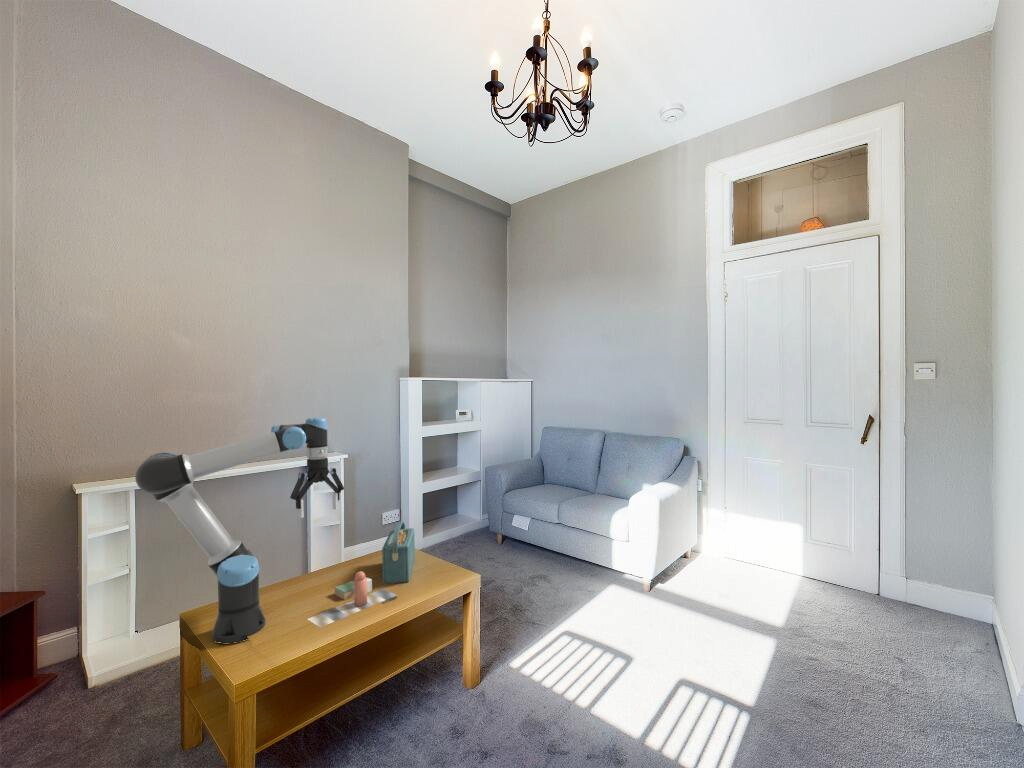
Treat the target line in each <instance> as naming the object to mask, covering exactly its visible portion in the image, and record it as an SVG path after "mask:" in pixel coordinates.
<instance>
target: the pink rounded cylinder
mask: <svg viewBox="0 0 1024 768" xmlns="http://www.w3.org/2000/svg"><path fill="white" fill-rule="evenodd" d="M367 578H368V577H367ZM367 578H366V573H365V572H364V571H358V572H356V574H355V575H354V579H353V582H354V597H353V598H354V599H353V600H355V606H357V607H361V606H364V605H366V604H367V595H368V593H367Z"/></svg>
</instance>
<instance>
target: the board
mask: <svg viewBox="0 0 1024 768" xmlns="http://www.w3.org/2000/svg"><path fill="white" fill-rule="evenodd" d="M396 599H398V594H395V593H394V592H391V591H389V590H387V589H385V588H381V589H379V590H376V591H372V592H370V593H367V604H366V605H364V606H361V607H357V606H355V600H354V599H353V600H351V601H349V602H346V603H344V604H342V605H339V606H336V607H334V608H331V609H329V610H327V611H324V612H321V613H319V614H317V615H314V616H311V617H309V618H307V620H308V621H309V622H310V623H312V624H313V625H315V626H317V628H322V627H325V626H328V625H329V624H333V623H334V622H337V621H339V620H342V619H344V618H347V617H349V616H351V615H353V614H356V613H358V612H360V611H363V610H365V609H367V608H369V607H372V606H375V605H376V604H382V605H384V604H386V603H389V602H391V601H393V600H396Z"/></svg>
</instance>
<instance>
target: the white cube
mask: <svg viewBox="0 0 1024 768" xmlns="http://www.w3.org/2000/svg"><path fill="white" fill-rule="evenodd" d="M365 577H366V576H365ZM366 578H367V594H369V593H371V592H373V580H372V578H370V577H366Z"/></svg>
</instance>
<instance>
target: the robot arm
mask: <svg viewBox="0 0 1024 768" xmlns="http://www.w3.org/2000/svg"><path fill="white" fill-rule="evenodd" d="M304 445H306V458H307V459H306V468H307V469H306V470H307V471H306V472H298V477H297V478H298V479H297V481H296V482H295V486H294V488H293V490H292V491H291V495H290V497H289V498H290V499H291V500H293V501H294V500H295V508H296V510H297V511H298V513H297V514H298V515H297V516H298V518H301V519H304V517H305V516H304V515H305V514H304V513H305V512H304V511H305V510H304V499H303V497H304V496H305V494H306V493H308V490H309V489H310V487H311V486H312V485H314V483H315V484H317V483H322V482H325V483H326V485H327V486H328V487H330V489H331V490H332V491H333V492H332V493H331V494H332V496H331V497H332V500H331V501H332V510H335V511H338V510H339V501H340V499H341V498H340V493H341V492H342V491H344V490H345V487H344V485H343V483H342V480H341V479H340V477H339V476H338V475H339V474H337V469H336V468H335V467H330V468H329V459H328V456H329V451H328V450H329V449H328V423H327V419H326V418H325V417H307V418H306V420H305V422H304V423H297V424H295V423H294V424H280V425H278V424H277V425H272V426H271V429H270V432H268V433H266V434H265V433H264V434H261V435H258V436H255V437H251V438H247V439H244V440H240V441H237V442H233V443H230V444H226V445H221V446H218V447H216V448H212V449H208V450H203V451H200V452H198V453H193V454H190V455H187V454H184V453H182V454H179V455H178V454H174V453H172V452H167V451H166V452H158V453H154V454H153V455H150V456H149V457H147V458H146V459H144V460H143V462H141V464H140V465H139V466H138V468H137V469H136V472H135V483H136V485H137V487H139V489H140V490H142V491H143V492H145V493H148V494H151V495H152V496H153V498H154V499H155V500H156V501H157V502H162V503H165V504H167V507H169V508H170V510H171V511H172V512H173V514H174V515H175V516H176V517H177V519H178V520H179V521H180V523H181V524H182V525H183V526H184V528H185V529H186V530H187V531H188V533H189V534H190V535H191V537H193V539H194V540H195V542H196V543H197V544H198V545H199V547H200V548H201V549H202V551H203V552H204V553H205V554H206V555H207V557H208V560H207V566H208V567H209V569H210V570H211V571H212V572H213V573H214V574H215V576H216V578H217V601H218V602H217V603H218V605H217V606H218V614H217V616H216V621H215V622H214V623H215V624H214V626H213V628H212V629H213V630H212V641H213V640H214V641H216V642H221V643H234V642H239V643H241V642H240V641H243V640H246V639H249V640H250V638H249V637H251V636H252V635H255V634H257V633H258V632H260V631H261V630H262V629H264V628H265V626H266V624H267V620H266V617H265V614H264V612H263V609H262V607H261V604H260V577H259V576H260V564H259V561H258V558H256V556H255V555H254V554H253V552H252V551H251V550H250V549H247V548H246V545H244V543H243V542H242V541H241V540H235V539H233V538H232V535H231V534H229V532H228V531H227V529H226V528H225V527H224V526H223V524H222V523H221V522H220V520H219V519H218V517H217V516H216V515H215V513H213V511H212V509H211V508H210V507H209V506H208V504H207V503H206V502H205V500H204V499H203V498H202V496H201V495H200V494H199V492H198V491H197V490H196V488H195V487H194V486H193V485H194V482H195V480H196V479H198V478H202V477H205V476H208V475H211V474H215V473H218V472H221V471H225V470H227V469H231V468H234V467H237V466H241V465H244V464H247V463H249V462H254V461H257V460H261V459H263V458H266V457H270V456H273V455H277V454H279V453H284V452H287V451H290V450H293V451H295V450H298V449H301V448H302V447H303V446H304ZM329 474H330V476H331V478H332V480H333V481H334V482H333V481H332V480H331V479H330V477H328V476H329ZM306 477H307V479H306ZM305 479H306V480H305ZM304 482H305V483H304ZM214 641H213V642H214ZM246 641H247V640H246ZM243 642H244V641H243ZM234 644H235V643H234Z"/></svg>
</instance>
